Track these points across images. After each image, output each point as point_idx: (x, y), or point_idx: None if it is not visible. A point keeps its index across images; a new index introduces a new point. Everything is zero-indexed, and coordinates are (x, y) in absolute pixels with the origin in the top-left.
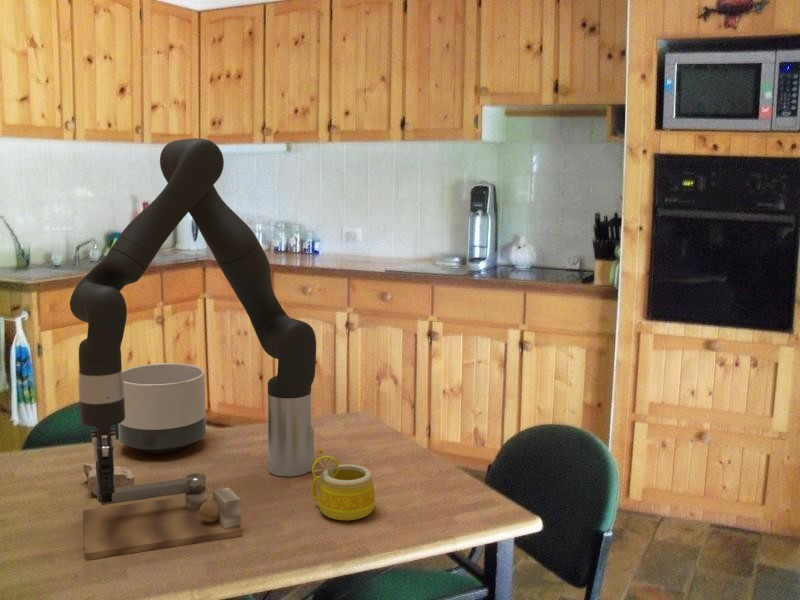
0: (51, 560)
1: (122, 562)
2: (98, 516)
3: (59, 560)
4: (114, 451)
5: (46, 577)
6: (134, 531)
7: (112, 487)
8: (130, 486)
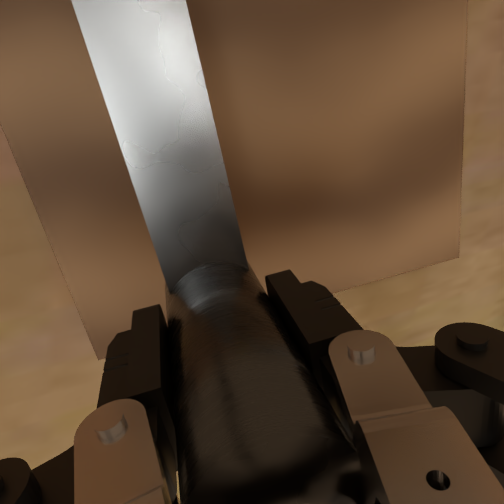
0: (411, 338)
1: (495, 129)
2: None
3: (418, 318)
4: (493, 487)
5: (496, 320)
6: (342, 110)
7: (297, 279)
8: (146, 176)
